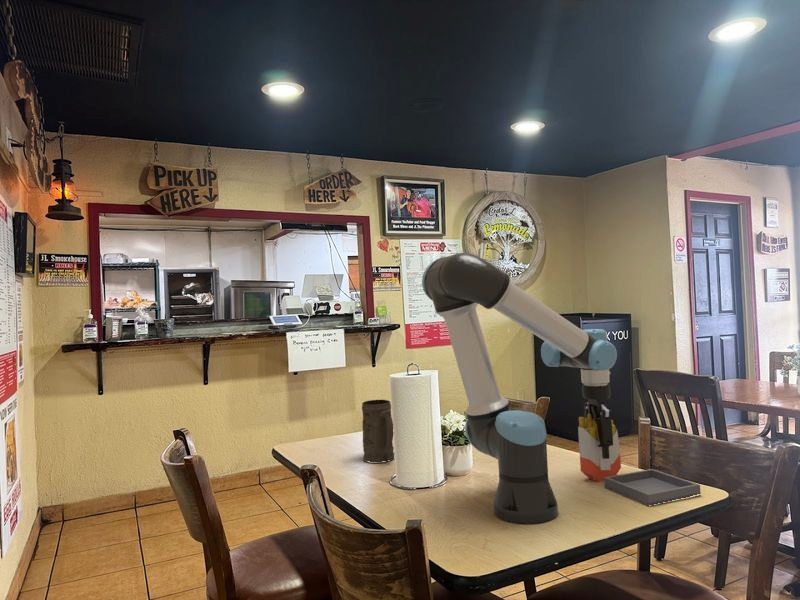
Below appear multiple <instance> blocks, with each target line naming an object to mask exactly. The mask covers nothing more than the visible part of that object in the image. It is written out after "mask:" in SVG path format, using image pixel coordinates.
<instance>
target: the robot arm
mask: <svg viewBox="0 0 800 600" xmlns="http://www.w3.org/2000/svg"><path fill="white" fill-rule="evenodd" d="M421 286H422V290H423V292H424V294H425V295H426V297H428V299H430V300H431V301H432V304H433V306H434V310H435V313H436V315H439V316H440V317H442V318H443V320H444V323H445V326H446V327H445V328H446V329H447V333H448V337H449V340H450V344H451V347H452V350H453V354H454V357H455V360H456V363H457V367H458V370H459V371H458V372H459V375H460V377H461V380H462V384H463V387H464V393H465V395H466V398H467V401H468V405H467V407H466V409H465V415H466V418H467V419H466V421H465V426H464V430H465V435H466V439H467V440H468V442H469V443H470V444H471V446H472V447H473V448H475V449H476V450H477V451H479V453H482V454H484V455H487V456H489V457H492V458H494V459H496V460H497V463H498V478H499V479H498V483H497V487H496V491H495V495H494V499H493V502H492V503H493V505H492V506H493V514H494V515H495V516H496V518H499V519H500V520H503V521H506V522H511V523H516V524H539V523H545V522H548V521H551V520H554V519H555V518H556V517H557V516H558V515H559V512H558V511H559V510H558V509H559V505H558V501H557V499H556V498H557V497H555V493H554V491H553V489H552V486H551V484H550V481H549V480H550V479H549V470H548V469H549V468H548V467H549V466H548V448H547V445H548V444H547V436H548V435H547V430H546V425H545V421H544V419H543V418H542V417H541V416H540V415H538V414H537V413H535V412H530V411H524V410H513V409H512V410H511V406H510V402H509V399H508V398H507V397H504V396H502V394H501V393H500V389H499V386H498V383H497V379H496V375H495V372H494V369H493V365H492V362H491V358H490V354H489V351H488V347H487V344H486V341H485V340H486V339H485V336H484V333H483V331H482V330H483V329H482V328H481V327H482V326H481V324H480V319H479V316H478V313H477V309H476V308H477V307H478V305H480V306H482V307H483V308H484V309H486V310H492V309H494V310H496V311H497V312H499V313H500V314H502V315H503V316H505V317H507V318H508V319H510V320H511V321H513V322H514V323H516V324H517V325H519V326H520V327H522V328H524V329H525V330H527V331H528V332H530V333H531V334H533V335H535V336H536V337H538V338H539V339H541V340H542V341H544V342H543V343H542V344H541V348H540V356H541V357H540V358H541V360H542V362H543V363H544V365H545V366H547V367H550V368H551V367H552V368H553V367H555V368H559V367H568V368H569V367H570V368H580V375H581V376H580V378H581V379H580V380H581V383H582V386H581V391H582V397H583V399H587V402H583V408H584V419H585V418H588V416H587V414H591V418H592V421H593V418H594V421H595V422H596V423H597V429H598V435H599V441H600V445H598V447H599V464H600V470H611V469H610V452H609V446H612V445H613V434H612V421H611V420H612V413H613V412H612V409H611V408H610V409H608V408H607V404H606V403H607V402H606V400H608V399H610V398H611V397H612V396H611V385H610V384H609V383H610V381H611V380H610V375H611V371H610V369H611V368H613V367H614V365H615V364H616V361H617V358H618V353H617V352H618V351H617V349H616V346H615V345H614V344H613V343H611V341H609V340H608V335H607V331H606V330H605V329H601V328H593V329H592V328H591V329H589V328H587V329H581V328H579V327H578V326H577V325H575V324H573V323H572V322H571V321H569V320H568V319H566V318H565V317H564V316H562V315H561V314H559V313H558V312H556V311H554V310H553V309H552V308H550V307H549V306H547V305H546V304H544V303H543V302H541V301H539V300H538V299H536V298H535V297H533V296H532V295H531V294H529V293H527V292H526V291H525V290H523V289H522V288H520V287H518V286H517V285H516V284H515V283H513V282H512V279H511V276H510V275H508V274H507V273H506V272H504V271H503V270H501V269H499V268H498V267H497V266H495V265H493V264H492V263H491V262H489V261H487V260H486V259H484V258H482V257H480V256H478V255H475V254H474V253H473V254H472V253H469V252H458V253H455V254H452V255H447V256H443V257H440V258H437V259H435V260H434V261H432V262H431V263H430V264H428V266H427V267H426V268H425V269H424V272H423V274H422V277H421Z"/></svg>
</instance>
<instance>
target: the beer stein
mask: <svg viewBox="0 0 800 600" xmlns="http://www.w3.org/2000/svg"><path fill="white" fill-rule="evenodd" d="M361 411H362V449H363V458H362V459H364V460H366V461H370V462H382V461H388V460H392V459H394V455H395V451H394V449H395V448H394V446H393V440H394V432H393V429H394V422H393V417H392V405H391V401H390V400H388V399H387V400H386V399H372V400H366V401H364V402H362V405H361ZM364 460H363V461H364ZM394 460H395V459H394ZM392 461H393V460H392Z"/></svg>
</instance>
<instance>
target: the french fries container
mask: <svg viewBox="0 0 800 600" xmlns="http://www.w3.org/2000/svg"><path fill="white" fill-rule="evenodd" d="M587 416H588V418H585V416H584V417H583V416H579V417H578V423H579V424H578V426H577V428H578V429H577V431H578V449H579V464H580V472H581V473H583V475H584V476H586V478H588V479H591V480H593V481H596V482H604V477H609V476H615V475H618V473H619V472H620V470H621V469H622V463H621V462H622V461H621V460H622V459H621V449H620V442H619V441H620V440H619V434H618V433H619V432H618V429H617V427H616V425H615V424H614V420H613V419H611V421H612V434H613V445H612V446H609V452H610V469H611V470H600V464H599V447H598V445H600V441H599V435H598V429H597V423H596V422H595V421H594V418H593V421H592V418H591V414H587Z"/></svg>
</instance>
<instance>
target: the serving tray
mask: <svg viewBox="0 0 800 600" xmlns="http://www.w3.org/2000/svg"><path fill="white" fill-rule="evenodd" d="M603 482H604V483H603V484H604V489H606V490H609V491H611V492H613V491H614V492H613V493H615V492H616V494H618V495H620V494H621V495H620V496H623V497H625V496H626V497H625V498H627V497H628V499H630V498H631V500H632V499H633V501H635V500H636V501H635V502H637V501H638V502H637V503H639V502H641V503H640V504H642V503H644V504H646V505H654V504H658V503H663V502H668V501H672V500H676V499H681V498H686V497H690V496H693V495H697V494H701V485H700V484H699V483H696V482H693V481H690V480H687V479H684V478H681V477H677V476H675V475H672V474H669V473H666V472H663V471H660V470H657V469H655V468H654V469H653V468H649V469H645V470H638V471H633V472H627V473H620V474H617V475H615V476H609V477H604V481H603ZM701 495H702V494H701ZM644 504H643V505H644ZM646 505H645V506H646Z"/></svg>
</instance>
